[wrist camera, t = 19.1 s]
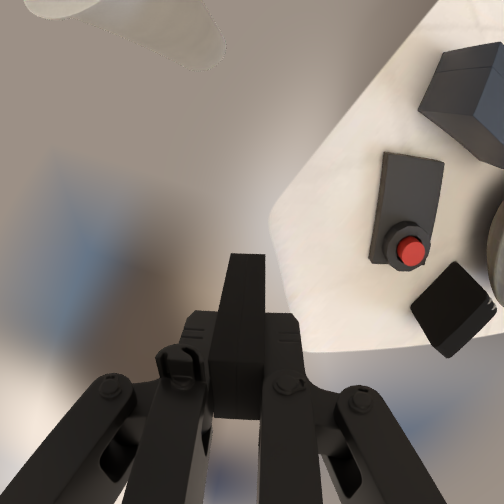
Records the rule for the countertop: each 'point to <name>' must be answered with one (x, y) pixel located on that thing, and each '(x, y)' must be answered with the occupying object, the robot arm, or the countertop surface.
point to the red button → (410, 251)
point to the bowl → (496, 254)
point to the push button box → (405, 206)
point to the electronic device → (453, 310)
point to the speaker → (470, 100)
